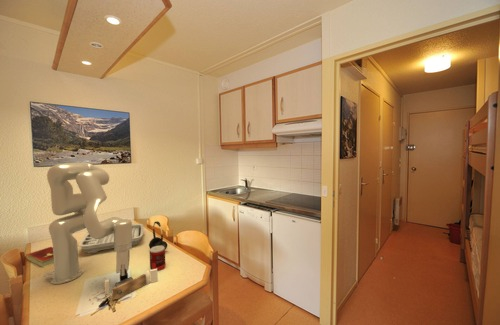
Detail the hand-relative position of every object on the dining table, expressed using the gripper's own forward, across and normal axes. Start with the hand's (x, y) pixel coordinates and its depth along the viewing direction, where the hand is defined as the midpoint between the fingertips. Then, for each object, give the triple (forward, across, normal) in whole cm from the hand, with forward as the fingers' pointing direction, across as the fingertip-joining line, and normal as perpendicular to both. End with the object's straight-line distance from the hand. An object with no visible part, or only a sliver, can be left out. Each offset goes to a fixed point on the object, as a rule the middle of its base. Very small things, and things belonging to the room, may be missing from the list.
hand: (124, 282), depth 103 cm
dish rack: (+3, -59, -9) cm, 59 cm away
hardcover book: (+4, -53, -44) cm, 69 cm away
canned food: (+1, -9, +16) cm, 18 cm away
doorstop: (+1, +5, +1) cm, 5 cm away
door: (+1, +8, +3) cm, 9 cm away
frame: (+1, +4, +4) cm, 6 cm away
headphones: (+2, -29, +17) cm, 34 cm away
